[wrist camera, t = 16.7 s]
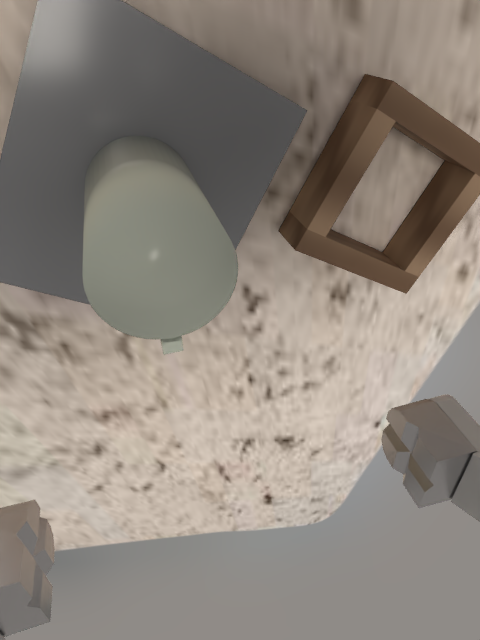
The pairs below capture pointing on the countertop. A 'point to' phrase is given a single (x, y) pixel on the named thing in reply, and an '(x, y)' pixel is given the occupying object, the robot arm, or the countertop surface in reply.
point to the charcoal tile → (123, 130)
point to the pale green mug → (152, 244)
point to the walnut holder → (351, 163)
